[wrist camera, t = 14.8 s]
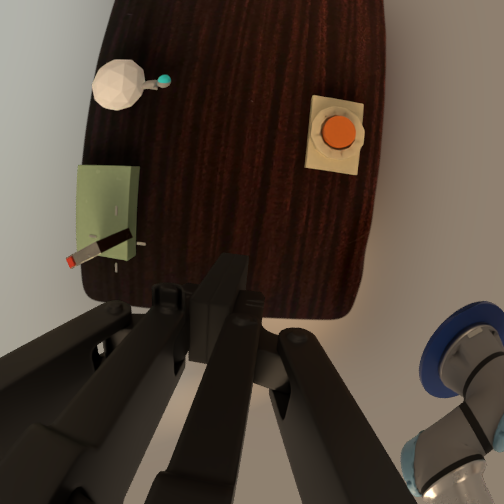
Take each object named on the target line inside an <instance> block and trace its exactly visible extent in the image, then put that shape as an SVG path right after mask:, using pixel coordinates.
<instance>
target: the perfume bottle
mask: <svg viewBox="0 0 504 504" xmlns="http://www.w3.org/2000/svg"><path fill="white" fill-rule="evenodd" d="M170 83H171V79H170V77H169V76H168V75H162V76H160V77H159V78H158V81H157V80H151V81H145V77H144V71H143V69H142V68H141V67H140V66H138V65H137V64H136V63H135V62H134V61H132V60H113V61H111V62H109V63H107V64H105V65H104V66H103V67H101V68H100V69H99V71H98V73H97V75H96V77H95V79H94V81H93V83H92V89H93V93H94V98H95V100H96V101H97V102H98V103H99V104H100V105H101V106H102V107H104V108H107V109H111V110H121V109H124V108H127V107H131V106H132V105H133V104H134V103H135V102H136V101H137V100H138V99H139V97H140V96H141V95H142V92H143V90H144V89H154V90H158V86H159V87H162V88H165V87H168V86H169V85H170Z"/></svg>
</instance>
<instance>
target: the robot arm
mask: <svg viewBox="0 0 504 504" xmlns="http://www.w3.org/2000/svg"><path fill="white" fill-rule="evenodd" d="M248 260H249V256H245V255H237V254H229V253H222V254H221V255H220V257H219V258H218V260H217V261H216V262H215V264H214V265H213V267H212V268H211V269H210V271H209V272H208V274H207V275H206V277H205V278H204V279H203V281H202V282H201V284H200V285H198V284H191V283H187V284H184V285H180V284H175V283H159V284H155V285H154V286H152V307H151V308H150V310H149V311H148V312H147V313H146V314H132V312H131V306H130V305H129V304H127V303H126V302H122V301H117V300H114V301H110V302H106V303H103V304H101V305H99V306H97V307H95V308H93V309H91V310H90V311H87V312H86V313H84V314H82V315H80V316H78V317H76V318H74V319H72V320H70V321H68V322H67V323H64V324H63V325H61V326H59V327H57V328H55V329H53V330H51V331H49V332H47V333H45V334H44V335H42V336H40V337H38V338H36V339H34V340H32V341H31V342H29V343H27V344H25V345H23V346H21V347H19V348H17V349H16V350H14V351H12V352H10V353H8V354H6V355H5V356H3V357H1V358H0V504H123V501H124V498H125V496H126V493H127V491H128V489H129V487H130V484H131V482H132V480H133V478H134V476H135V474H136V471H137V469H138V467H139V465H140V463H141V461H142V458H143V456H144V454H145V451H146V450H147V447H148V445H149V443H150V441H151V439H152V437H153V435H154V433H155V430H156V428H157V426H158V424H159V422H160V420H161V418H162V415H163V413H164V411H165V409H166V406H167V405H168V402H169V400H170V398H171V396H172V394H173V392H174V390H175V388H176V386H177V383H178V381H179V379H180V377H181V375H182V373H183V370H184V368H185V355H186V354H187V352H188V350H189V361H193V362H199V363H204V364H207V367H206V369H205V372H204V374H203V377H202V380H201V382H200V385H199V387H198V390H197V393H196V395H195V398H194V400H193V403H192V406H191V408H190V411H189V414H188V416H187V419H186V422H185V424H184V426H183V429H182V432H181V434H180V437H179V439H178V442H177V445H176V447H175V450H174V452H173V455H172V458H171V460H170V463H169V465H168V467H167V469H166V470H165V471H160V472H159V473H158V474H157V476H156V478H155V479H154V481H153V483H152V486H151V488H150V491H149V494H148V496H147V498H146V501H145V503H144V504H233V501H234V496H235V490H236V484H237V478H238V473H239V467H240V461H241V455H242V449H243V443H244V436H245V431H246V424H247V418H248V412H249V405H250V399H251V393H252V387H253V383H255V384H258V385H261V386H264V387H266V388H269V395H270V399H271V402H272V406H273V409H274V412H275V416H276V419H277V423H278V426H279V429H280V433H281V436H282V439H283V443H284V446H285V449H286V452H287V456H288V459H289V462H290V465H291V469H292V472H293V475H294V478H295V482H296V485H297V488H298V491H299V494H300V497H301V500H302V504H417V502H416V500H415V499H414V497H413V495H414V496H416V497H419V496H422V498H423V500H424V501H425V502H429V503H433V504H494V501H493V499H492V497H491V494H490V492H489V490H488V488H487V486H486V483H485V481H484V479H483V473H484V471H485V468H486V461H485V459H484V456H485V455H486V454H487V453H489V452H490V451H491V450H492V449H494V450H495V451H497V452H503V451H504V346H503V344H502V341H501V339H500V337H499V334H498V332H497V330H496V329H495V328H493V327H492V326H491V325H490V324H488V323H486V322H477V323H473V324H471V325H469V326H467V327H465V328H464V329H462V330H461V331H460V332H459V333H457V334H456V335H455V336H454V337H453V338H452V340H451V341H450V342H449V343H448V345H447V346H446V348H445V349H444V351H443V353H442V355H441V357H440V360H439V364H438V374H439V377H440V379H441V381H442V382H443V384H444V385H445V386H446V387H447V388H449V389H451V390H453V391H454V392H456V393H457V394H459V395H461V396H463V397H464V401H463V403H461V404H460V405H459V406H457V407H456V408H455V409H454V410H452V411H451V412H450V413H448V414H447V415H446V416H444V417H443V418H442V419H440V420H439V421H438V422H436V423H435V424H433V425H432V426H430V427H429V428H427V429H426V430H423V431H421V432H419V434H418V435H417V436H415V437H414V438H412V439H411V440H409V441H408V442H407V443H406V444H405V445H404V447H403V449H402V452H401V468H402V472H403V476H404V479H405V481H406V482H407V485H406V484H405V482H404V480H403V479H402V477H401V475H400V474H399V472H398V470H397V469H396V467H395V465H394V464H393V462H392V461H391V459H390V457H389V455H388V454H387V452H386V450H385V449H384V447H383V445H382V444H381V442H380V441H379V439H378V437H377V436H376V434H375V432H374V431H373V429H372V427H371V426H370V424H369V423H368V421H367V419H366V418H365V416H364V414H363V413H362V411H361V409H360V408H359V406H358V405H357V403H356V401H355V399H354V398H353V396H352V395H351V393H350V391H349V390H348V388H347V386H346V385H345V383H344V382H343V380H342V378H341V377H340V375H339V373H338V372H337V370H336V369H335V367H334V365H333V364H332V362H331V361H330V359H329V358H328V356H327V354H326V353H325V351H324V349H323V348H322V346H321V345H320V343H319V341H318V340H317V338H316V336H315V335H314V334H313V333H311V332H309V331H307V330H305V329H302V328H286V329H284V330H282V331H281V332H280V333H279V335H276V334H273V333H271V332H269V331H267V330H266V329H264V328H263V326H262V315H263V308H264V300H265V297H264V295H263V294H262V293H261V292H255V291H248V290H246V280H247V270H248ZM101 342H103V348H104V352H103V353H102V354H99V353H98V348H97V345H98V344H99V343H101ZM462 412H463V413H462ZM469 424H470V425H469ZM472 429H473V430H472ZM482 447H483V448H482ZM483 449H484V450H483ZM411 493H412V494H413V495H412V494H411Z"/></svg>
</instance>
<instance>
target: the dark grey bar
mask: <svg viewBox="0 0 504 504" xmlns="http://www.w3.org/2000/svg"><path fill="white" fill-rule="evenodd" d="M131 238H133V236H132V234H131V232H130V229H129V228H126V229H124V230H121V231H119V232H117V233H114V234H112V235H109V236H107V237H105V238H102V239H100V240H98V241H96V242H94V243H92V244H90V245H88V246H86V247H85V248H83V249H81V250H79V251H78V252H76V253H74V254H72V255H70V256H69V257H67V258H66V260H67V262H68V265H69V267H70V268H71V269H72V268H74V267H76V266H78V265H80V264H82V263H83V262H85V261H87V260H89V259H91V258H93V257H95V256H97V255H99V254H101V253H103V252H105V251H107V250H109V249H111V248H113V247H115V246H117V245H119V244H121V243H123V242H125V241H127V240H129V239H131Z"/></svg>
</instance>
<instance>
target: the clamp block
mask: <svg viewBox="0 0 504 504" xmlns="http://www.w3.org/2000/svg"><path fill="white" fill-rule="evenodd" d="M139 171H140V166H118V165H78V173H77V196H76V240H77V252H78V251H79V250H81V249H83V248H85V247H86V246H88V245H90V244H92V243H94V242H96V241H98V240H100V239H102V238H105V237H107V236H109V235H112V234H114V233H117V232H119V231H121V230H124V229H126V228H129V229H130V232H131V234H132V236H133V238H131V239H129V240H127V241H125V242H123V243H121V244H119V245H117V246H115V247H113V248H111V249H109V250H107V251H105V252H103V253H101V254H99V256H104V257H110V258H115V259H121V260H129V259H131V258H132V257H134V256H135V255H136V220H137V199H138V184H139ZM137 244H138V245H146V243H143V242H137ZM115 272H118V271H117V263H115Z"/></svg>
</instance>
